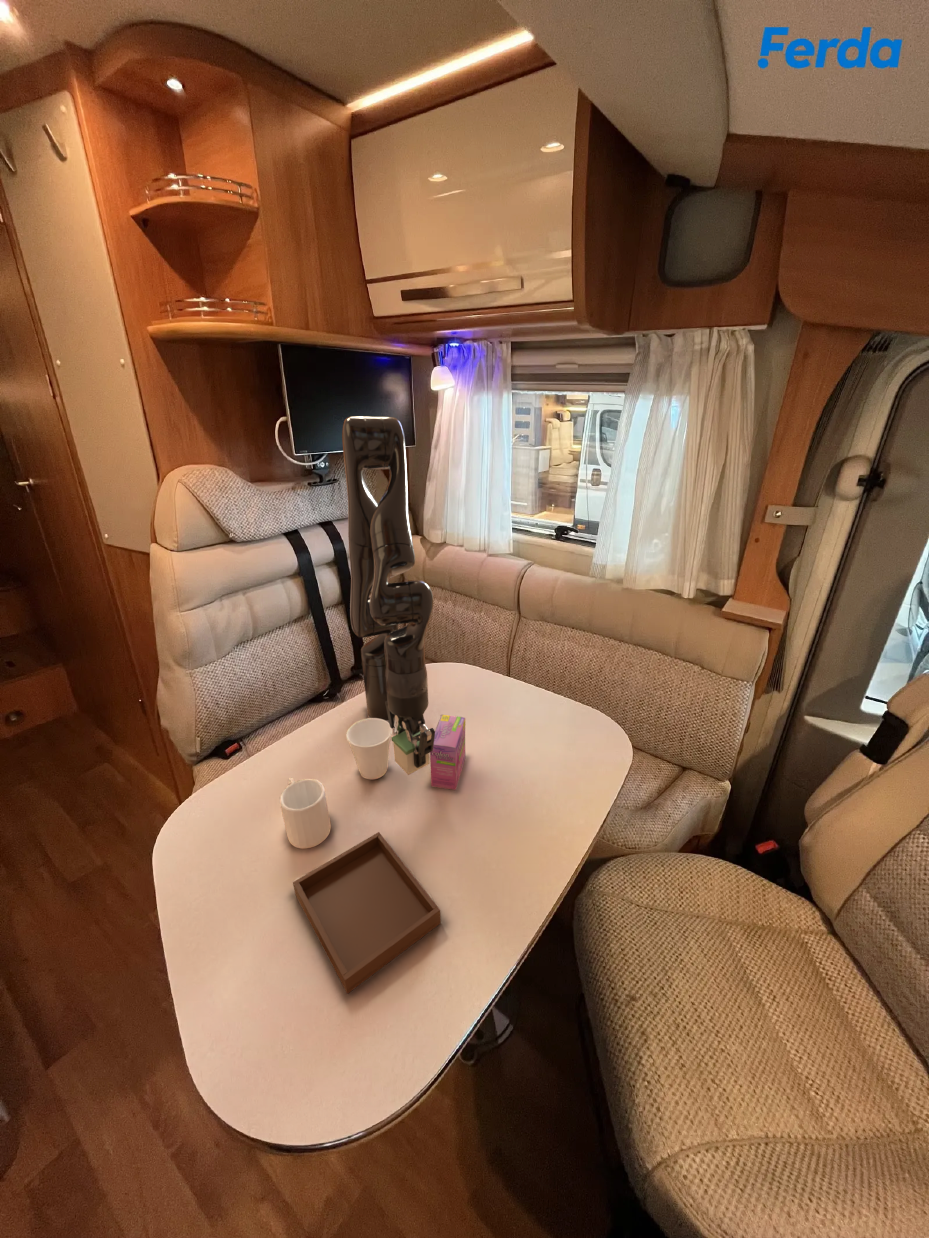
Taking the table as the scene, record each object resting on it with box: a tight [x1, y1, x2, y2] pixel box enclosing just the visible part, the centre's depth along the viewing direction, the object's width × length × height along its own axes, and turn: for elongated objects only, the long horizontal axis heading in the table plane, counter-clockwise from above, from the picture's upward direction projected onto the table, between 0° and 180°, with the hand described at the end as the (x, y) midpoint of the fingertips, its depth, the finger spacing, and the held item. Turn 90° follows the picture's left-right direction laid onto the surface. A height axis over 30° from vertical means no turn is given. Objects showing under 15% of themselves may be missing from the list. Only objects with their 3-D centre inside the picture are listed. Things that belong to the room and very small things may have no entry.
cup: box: [345, 717, 393, 780], centre depth 110 cm, size 10×10×11 cm
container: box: [391, 731, 430, 776], centre depth 98 cm, size 5×5×6 cm
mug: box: [279, 777, 332, 849], centre depth 97 cm, size 8×12×10 cm
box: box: [429, 714, 466, 791], centre depth 109 cm, size 10×6×12 cm, turn 168°
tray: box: [292, 831, 442, 995], centre depth 82 cm, size 20×17×3 cm
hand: (411, 756), depth 98 cm, fingers closed on container, 5 cm apart
